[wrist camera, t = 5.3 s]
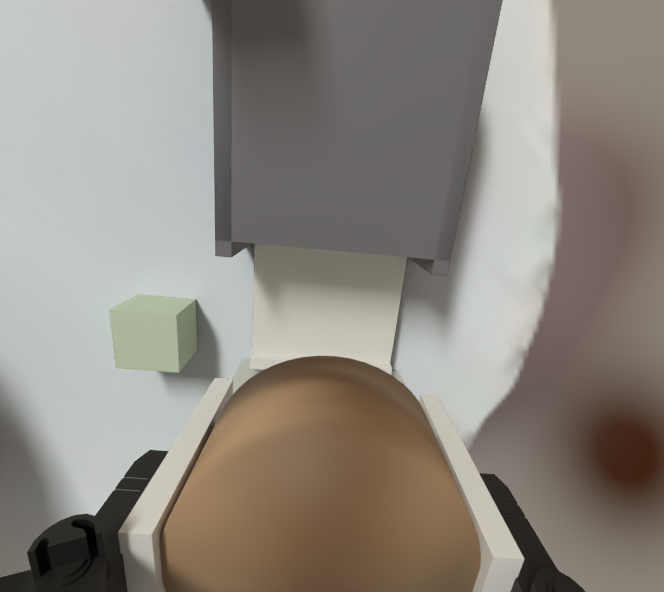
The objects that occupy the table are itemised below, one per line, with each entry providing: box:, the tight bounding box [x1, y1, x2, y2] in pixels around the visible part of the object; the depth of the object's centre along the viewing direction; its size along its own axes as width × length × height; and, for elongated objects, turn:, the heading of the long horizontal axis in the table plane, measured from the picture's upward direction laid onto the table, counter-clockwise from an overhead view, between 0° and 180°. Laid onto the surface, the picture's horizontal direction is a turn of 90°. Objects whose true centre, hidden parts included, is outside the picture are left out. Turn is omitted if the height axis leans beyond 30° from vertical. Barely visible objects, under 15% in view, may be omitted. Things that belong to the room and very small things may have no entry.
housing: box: [212, 0, 502, 276], centre depth 22 cm, size 16×15×7 cm
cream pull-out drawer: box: [232, 244, 407, 394], centre depth 26 cm, size 16×15×6 cm
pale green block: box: [109, 294, 198, 373], centre depth 28 cm, size 5×5×4 cm
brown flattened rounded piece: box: [160, 356, 481, 592], centre depth 10 cm, size 8×8×4 cm
